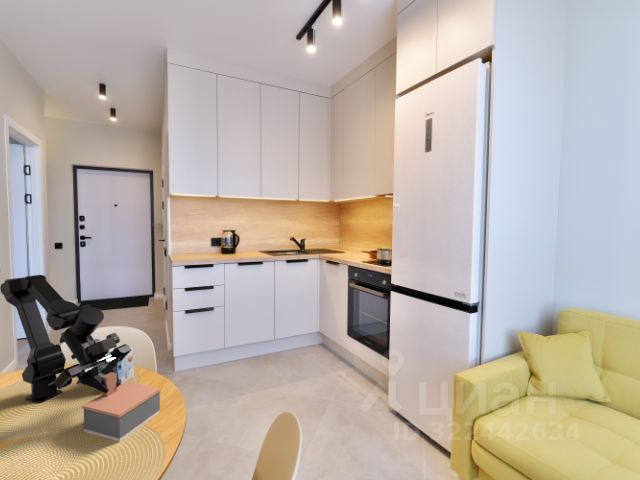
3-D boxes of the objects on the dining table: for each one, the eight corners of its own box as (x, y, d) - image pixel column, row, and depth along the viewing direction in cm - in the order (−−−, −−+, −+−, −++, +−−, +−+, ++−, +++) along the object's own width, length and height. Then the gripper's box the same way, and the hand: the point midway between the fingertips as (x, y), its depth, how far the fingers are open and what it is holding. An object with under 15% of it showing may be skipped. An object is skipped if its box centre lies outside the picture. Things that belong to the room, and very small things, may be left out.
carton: (84, 431, 84) (83, 409, 84) (127, 404, 97) (126, 385, 96) (119, 441, 81) (119, 418, 80) (159, 412, 93) (159, 392, 93)
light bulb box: (109, 392, 103) (108, 359, 103) (91, 390, 105) (91, 357, 104) (135, 377, 114) (134, 346, 113) (118, 374, 115) (118, 345, 114)
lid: (82, 408, 84) (81, 386, 83) (126, 383, 97) (126, 364, 96) (119, 418, 80) (118, 394, 80) (160, 391, 93) (160, 370, 92)
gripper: (61, 338, 81) (95, 389, 78) (126, 317, 99) (155, 358, 96) (40, 364, 84) (72, 414, 81) (107, 339, 101) (135, 379, 99)
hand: (113, 389), depth 89 cm, fingers closed on lid, 3 cm apart
